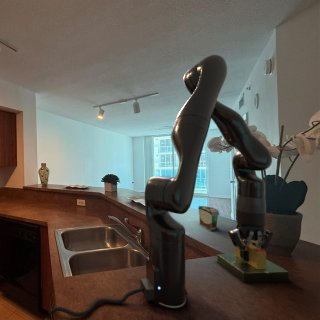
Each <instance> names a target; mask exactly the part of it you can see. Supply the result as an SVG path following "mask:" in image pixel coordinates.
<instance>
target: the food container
mask: <svg viewBox="0 0 320 320" xmlns="http://www.w3.org/2000/svg"><path fill="white" fill-rule="evenodd" d="M218 216H220V211H219V209H217V208H215V207H211V206H205V205H199V206H198V218H199V225H200V226H202V227H203V228H206V230H208V231H210V232H215V231H216V230H217V226H218Z"/></svg>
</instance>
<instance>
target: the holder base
mask: <svg viewBox="0 0 320 320" xmlns="http://www.w3.org/2000/svg"><path fill="white" fill-rule="evenodd" d="M216 257H217V258H216V260H217V261H216V262H217V264H218V265H220V266H221V267H223V268H224V269H225V270H226V271H228V272H229V273H230V274H231V275H233V276H234V277H236V278H237V279H238V280H239V281H241V282H242V283H244V284H245V283H247V284H248V283H250V284H251V283H275V282H277V283H278V282H279V283H281V282H289V281H290V278H289V275H290V273H289V272H290V271H288V270H286V269H285V268H283V267H282V266H279V265H278V264H275V263H274V262H273V261H270V260H268V259H266V269H256V268H254V267H253V266H251V265H250V264H248V263H246V262H245V261H243V260H242V259H240V258H238V257H237V256H236V252H234V253H226V254H225V253H223V254H217V256H216Z"/></svg>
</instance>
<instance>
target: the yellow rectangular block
mask: <svg viewBox="0 0 320 320" xmlns="http://www.w3.org/2000/svg"><path fill="white" fill-rule="evenodd" d="M243 246H244V245H243ZM248 251H249V262H246V263H248V264H250V265H251V266H253V267H254V268H256V269H266V260H267V251H266V249H264V248H263V249H260V248H258V247H256V246H254V245H252V244H250V245H249V249H248ZM235 253H236V256H237V257H238V258H240V249H239V248H237V247H235ZM240 259H241V258H240Z"/></svg>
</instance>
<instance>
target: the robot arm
mask: <svg viewBox="0 0 320 320" xmlns="http://www.w3.org/2000/svg"><path fill="white" fill-rule="evenodd" d="M227 75H228V64H227V61H226V59H225V58H224V57H223V56H221V55H219V54H211V55H210V54H209V55H208V56H206V57H204V58H203V59H202V60H200V61H199V62H198V63H196V64H195V65H193V66H192V67H191V68H189V69H188V70H187V71H186V72H185V73H184V75H183V84H184V87H185V89H186V90H187V92H188V93H189V95H190V97H189V98H188V99H187V101H186V102H185V103H184V104H183V106H182V107H181V108H180V110H179V111H178V113H177V115H176V117H175V119H174V123H173V126H172V128H171V132H170V141H171V143H172V146H173V148H174V150H175V152H176V155H177V158H178V168H177V172H176V175H175V177H174V176H164V175H153V176H151V177H150V178H149V179H148V180H147V182H146V184H145V187H144V208H145V209H144V210H145V223H146V226H147V228H148V231H147V232H148V256H147V257H145V277H140V278H139V279H140V281H139V282H140V284H139V285H140V287H138V288H135V289H133V290H130V291H128V292H126V294H125V295H123V296H122V298H118V299H113V298H107V297H106V298H103V297H102V298H98V299H96V300H95V301H93V302H92V303H91V305H90V306H89V307H88V308H87V309H85V310H83V311H74V310H72V309H69V308H66V307H64V306H55V307H52V309H50V310H49V311H48V315H53V314H54V313H56V312H63V313H64V314H67V315H70V316H72V317H84V316H86V315H88V314H89V313H90V312H92V311H93V310H94V308H95V307H96V306H97V305H100V304H102V303H107V304H108V303H109V304H114V305H115V304H116V305H117V304H122V303H124V302H126V301H127V300H128V298H129V297H131V296H133V295H135V294H139V293H142V294H143V297H144V298H145V300H146V301H152V303H153V305H155V306H160V307H162V308H166V309H168V310H169V309H170V310H179V309H182V308H183V307H185V305H186V303H187V297H188V291H187V289H186V229H185V226H184V225H183V224H182V223H181V222H179V221H177V220H176V219H175V218H174V217H173V216H172V215H171V214H170V213H172V214H177V215H184V214H186V213H187V212H188V211H189V209H190V208H191V205H192V203H193V199H194V195H195V191H196V190H195V189H196V183H197V178H198V171H199V166H200V162H201V157H202V154H203V149H204V145H205V142H206V140H207V136H208V133H209V130H210V126H211V122H213V123H214V125H215V126H216V127H217V129H218V130H219V133H220V135H221V136H222V138H223V139H224V141H225V143H226V144H227V145H228V146H229V147H231V148H234V149H236V150H237V151H235V152H234V153H233V156H232V160H231V164H232V170H233V174H234V178H235V180H236V198H235V221H236V226H235V229H232V230H231V229H228V230H227V233H228V236H229V238H230V240H231V242H232V245H233V246H234V247H235V248H236V247H237V248H239V249H240V258H241V259H242V260H243V261H245V262H249V251H248V249H249V245H250V244H252V245H254V246H256V247H258V248H260V249H263V250H266V249H267V248H268V246H269V244H270V242H271V240H272V237H273V235H274V232H272V231H270V230H269V229H265V226H266V225H267V202H266V181H265V180H264V179H262V178H261V177H259V176H258V174H257V172H263V171H266V170H267V169H269V168H270V167H271V166H272V163H273V156H272V154H271V152H270V150H269V149H268V148H267V146H265V144H264V143H262V141H260V139H259V138H258V137H256V136H255V135H254V134H253V133H252V131H251V129H250V128H249V125H248V124H247V122H246V120H245V119H244V117H243V116H242V115H241V114H240V113H239V112H238V111H236V110H235V109H233V108H231V107H229V106H228V105H225V104H223V103H222V102H220V101H219V100H218V98H219V96H220V93H221V91H222V89H223V86H224V84H225V81H226V79H227ZM243 245H244V246H243Z"/></svg>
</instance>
